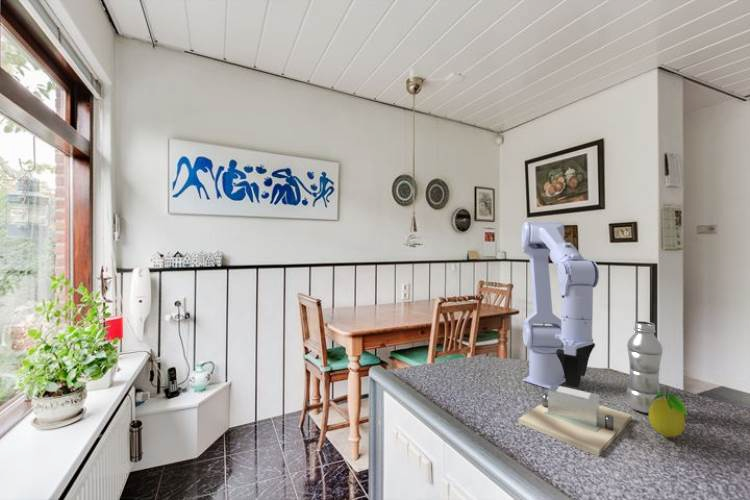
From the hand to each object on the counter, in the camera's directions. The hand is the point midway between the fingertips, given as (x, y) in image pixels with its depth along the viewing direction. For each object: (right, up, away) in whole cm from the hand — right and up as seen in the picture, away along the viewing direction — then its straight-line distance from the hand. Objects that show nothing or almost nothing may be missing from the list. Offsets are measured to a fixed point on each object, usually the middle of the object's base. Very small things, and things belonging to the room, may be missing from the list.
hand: (575, 380), depth 74 cm
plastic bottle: (+18, -9, +5) cm, 21 cm away
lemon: (+14, -9, -6) cm, 18 cm away
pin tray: (0, -9, 0) cm, 9 cm away
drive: (0, -8, 0) cm, 8 cm away
